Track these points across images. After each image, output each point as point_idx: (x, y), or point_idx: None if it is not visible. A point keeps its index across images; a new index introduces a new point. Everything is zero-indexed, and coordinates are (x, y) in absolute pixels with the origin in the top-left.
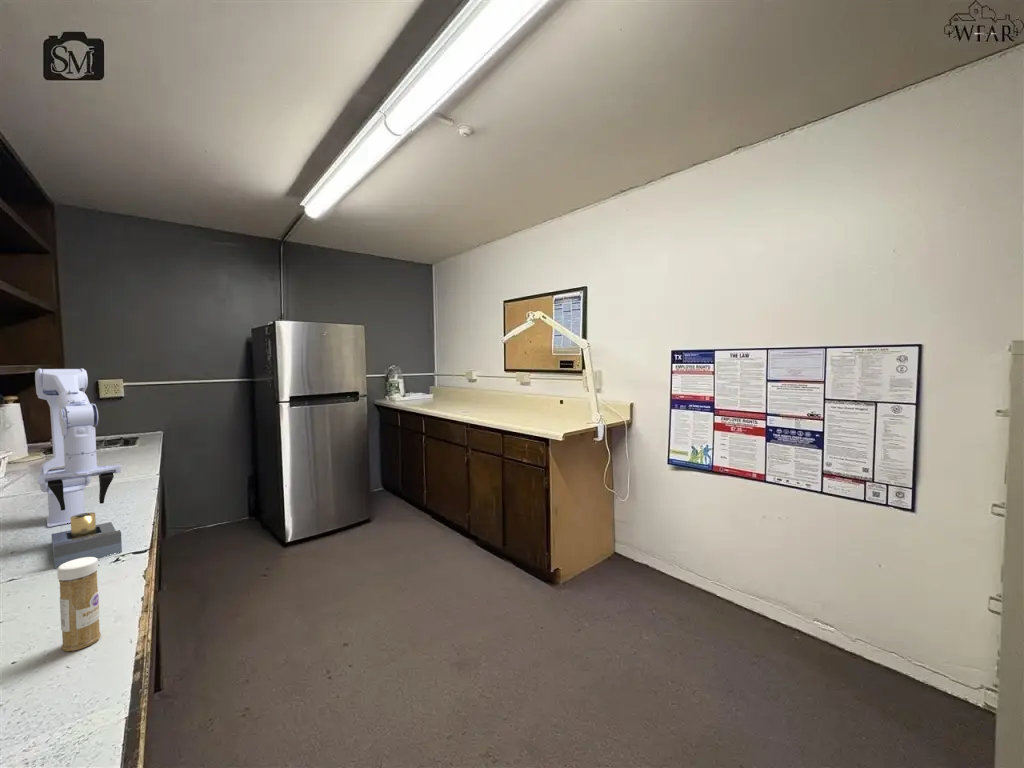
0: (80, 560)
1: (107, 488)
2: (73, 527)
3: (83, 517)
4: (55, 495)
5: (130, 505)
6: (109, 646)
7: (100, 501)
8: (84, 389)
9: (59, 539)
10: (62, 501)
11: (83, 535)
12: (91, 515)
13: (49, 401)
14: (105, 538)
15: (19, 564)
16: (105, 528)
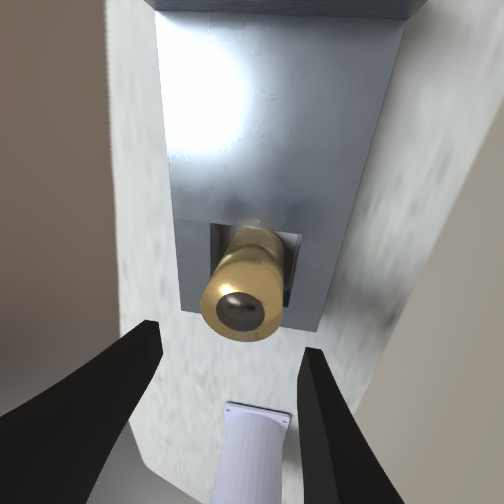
0: None
1: (35, 397)
2: (279, 274)
3: (243, 280)
4: (393, 489)
5: (155, 419)
6: None
7: (148, 329)
8: None
9: (318, 258)
10: (326, 402)
11: (257, 240)
12: (214, 284)
13: None
14: None
15: (429, 194)
16: (197, 258)
